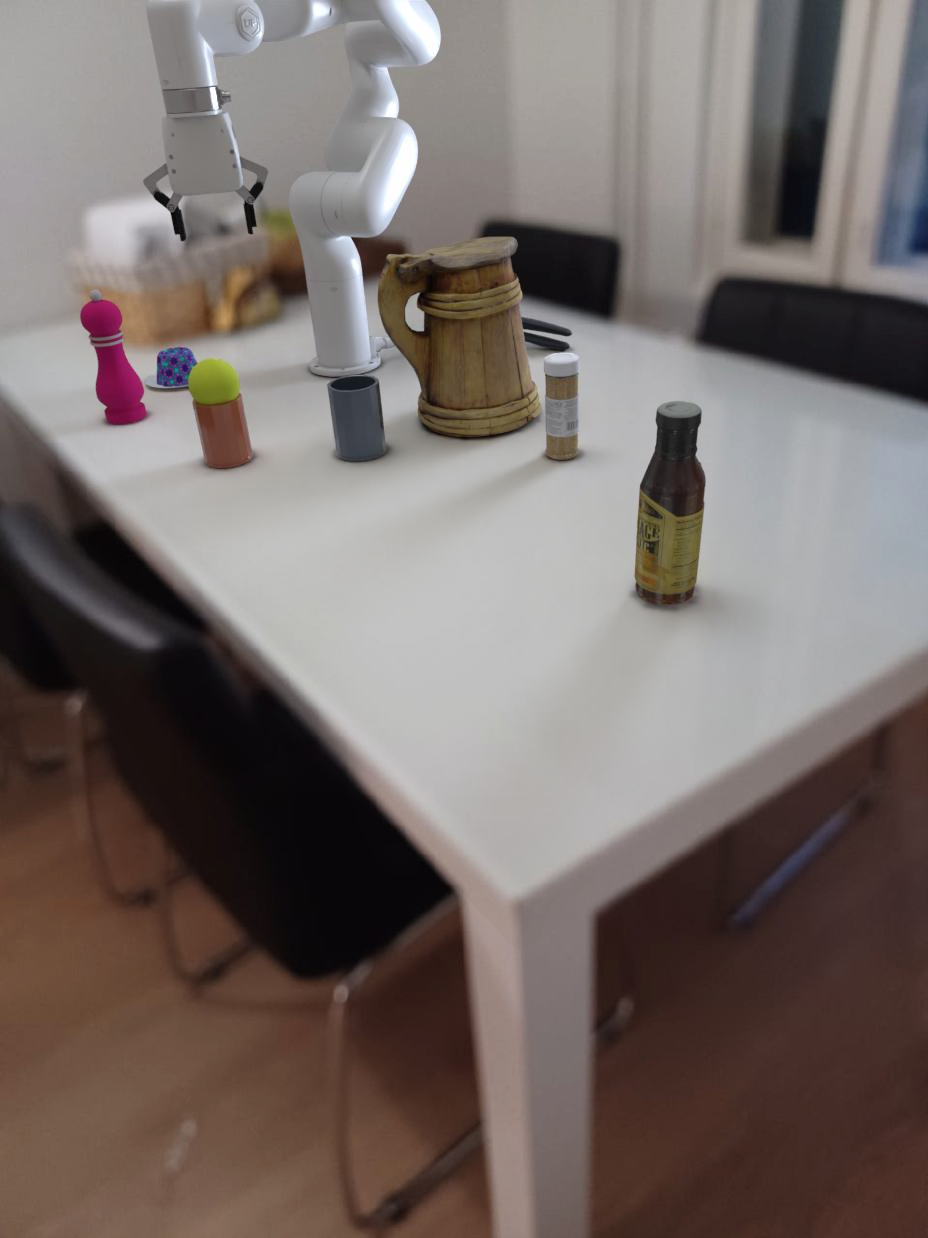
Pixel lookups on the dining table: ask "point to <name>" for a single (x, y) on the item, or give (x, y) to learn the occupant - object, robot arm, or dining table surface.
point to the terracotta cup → (223, 433)
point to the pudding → (172, 368)
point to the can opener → (547, 328)
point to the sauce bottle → (671, 509)
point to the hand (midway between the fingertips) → (217, 236)
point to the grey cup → (357, 417)
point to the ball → (213, 382)
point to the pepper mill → (112, 362)
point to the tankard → (463, 335)
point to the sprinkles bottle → (561, 405)
